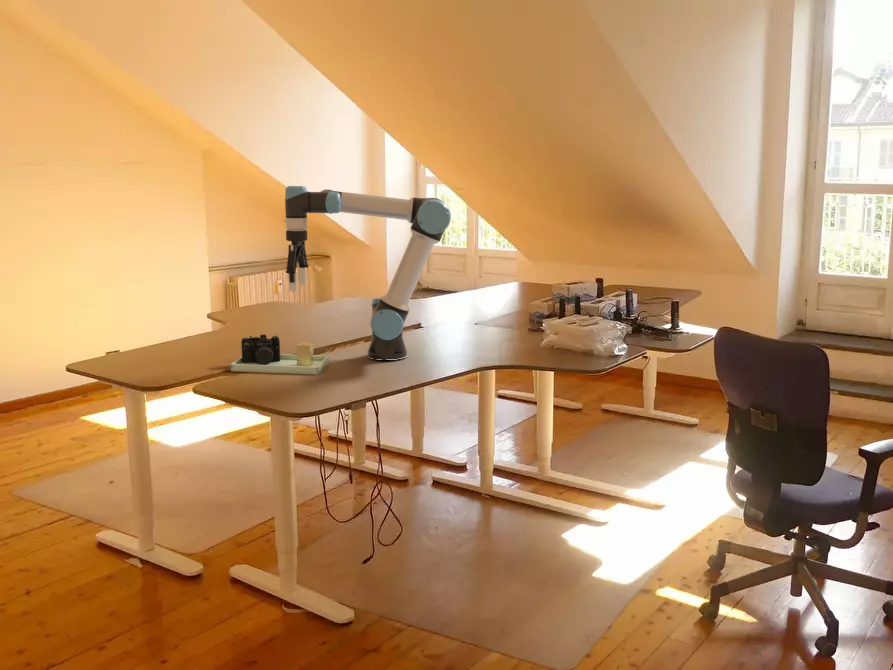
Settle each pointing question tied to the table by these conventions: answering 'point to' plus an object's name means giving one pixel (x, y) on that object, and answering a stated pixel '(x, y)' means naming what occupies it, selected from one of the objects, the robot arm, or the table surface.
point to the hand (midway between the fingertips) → (297, 288)
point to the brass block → (305, 354)
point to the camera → (260, 349)
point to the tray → (282, 365)
